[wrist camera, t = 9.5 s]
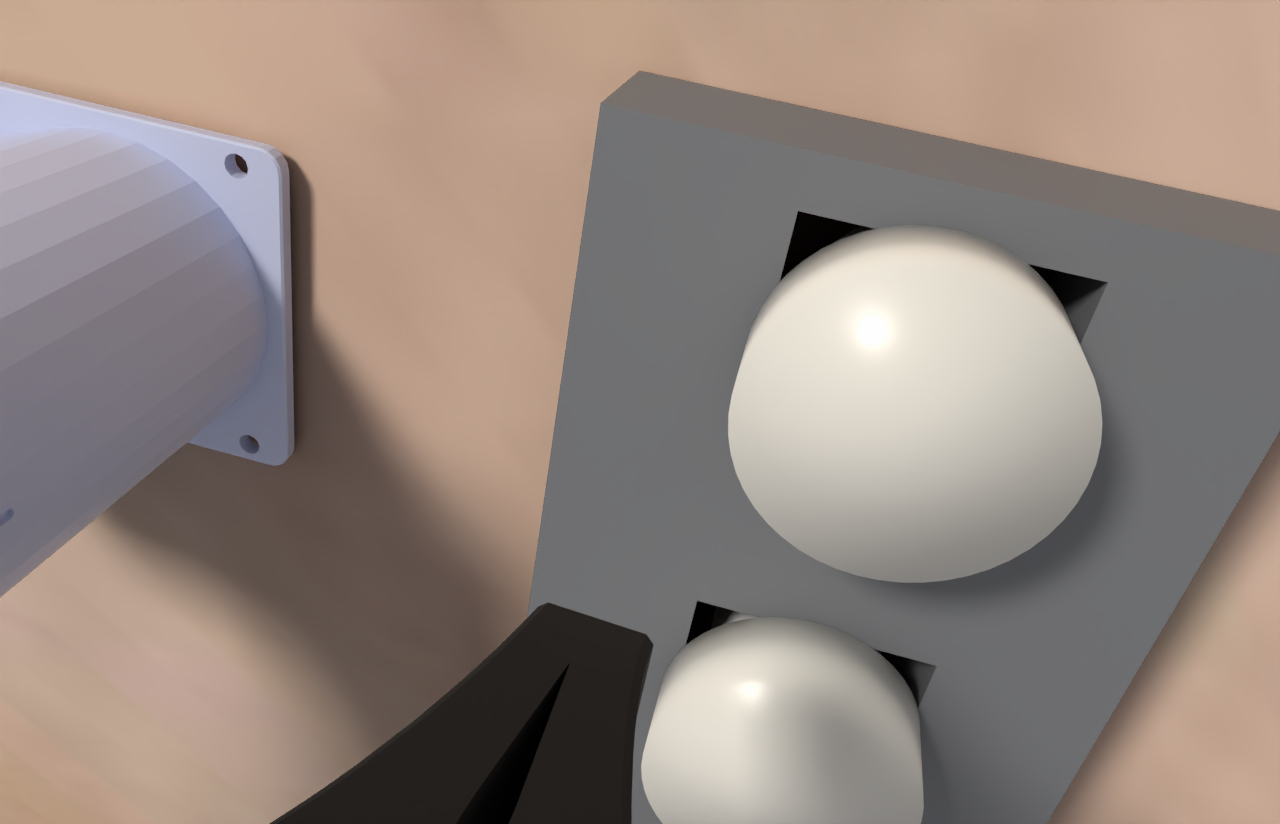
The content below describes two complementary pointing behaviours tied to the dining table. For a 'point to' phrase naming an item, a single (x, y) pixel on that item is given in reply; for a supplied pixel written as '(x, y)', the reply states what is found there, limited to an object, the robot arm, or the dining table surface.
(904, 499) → the knob
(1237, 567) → the dining table surface
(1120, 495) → the mount
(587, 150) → the dining table surface
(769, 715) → the knob
